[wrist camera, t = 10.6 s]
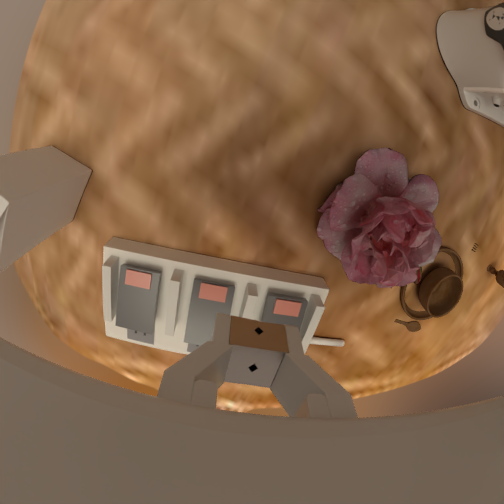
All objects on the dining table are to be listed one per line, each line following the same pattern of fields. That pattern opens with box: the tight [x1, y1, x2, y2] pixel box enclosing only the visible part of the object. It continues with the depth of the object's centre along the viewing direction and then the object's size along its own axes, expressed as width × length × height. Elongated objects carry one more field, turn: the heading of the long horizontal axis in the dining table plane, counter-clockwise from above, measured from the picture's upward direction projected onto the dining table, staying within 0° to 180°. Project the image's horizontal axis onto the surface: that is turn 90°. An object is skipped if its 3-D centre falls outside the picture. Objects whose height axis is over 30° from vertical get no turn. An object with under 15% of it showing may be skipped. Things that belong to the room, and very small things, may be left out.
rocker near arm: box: [261, 292, 308, 332], centre depth 32 cm, size 4×7×2 cm, turn 167°
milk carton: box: [0, 146, 92, 273], centre depth 20 cm, size 7×7×19 cm
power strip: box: [102, 237, 345, 354], centre depth 34 cm, size 33×13×6 cm, turn 77°
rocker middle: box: [184, 278, 235, 345], centre depth 31 cm, size 4×7×2 cm, turn 167°
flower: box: [317, 148, 442, 288], centre depth 28 cm, size 15×15×10 cm
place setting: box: [394, 243, 504, 332], centre depth 36 cm, size 18×20×6 cm
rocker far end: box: [115, 263, 162, 334], centre depth 30 cm, size 4×7×2 cm, turn 167°
